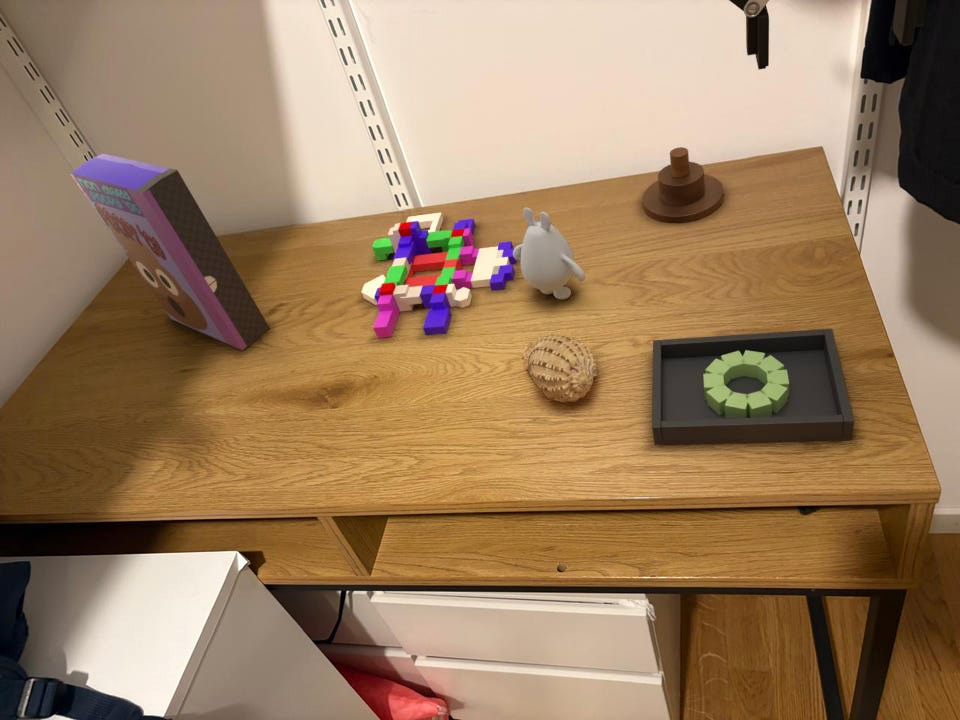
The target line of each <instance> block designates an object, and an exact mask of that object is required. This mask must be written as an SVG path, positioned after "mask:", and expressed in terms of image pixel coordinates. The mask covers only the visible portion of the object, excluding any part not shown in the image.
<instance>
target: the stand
mask: <svg viewBox="0 0 960 720" xmlns="http://www.w3.org/2000/svg"><path fill="white" fill-rule="evenodd" d="M669 161H670V164H667V165H666V166H664V167H662V169H660V171H659V172H658V173H657V180H656V181H655V182H653V183H652V184H650V185H649V186H648V187H647V188H646V190H645V191H644V192H643V195H642V207H643V210H644V212H645V213H646V215H647V216H649V217H650V218H652V219H653V220H656V221H658V222H662V223H669V224H681V223H689V222H694V221H697V220H700V219H703V218H706V217H708V216H709V215H711V214H713V213H714V212H715V211H717V210H718V209H719V208H720V206H721V205H722V203H723V201H724V187H723V184H722V183H721V181H719V180H718V179H717V178H715V177H714V176H711V175H709V174H706V173H705V169H704V167H703V166H702V165H701V164H700V163H697V162H696V161H695V162H694V161H690V157H689V149H688V148H686V147H681V146H680V147H675V148H672V150H670V151H669Z"/></svg>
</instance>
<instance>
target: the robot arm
mask: <svg viewBox="0 0 960 720" xmlns="http://www.w3.org/2000/svg"><path fill="white" fill-rule="evenodd" d="M728 1H729V2H731V3H732V4H733V5H735V7H737V8H738V9H740V10H741V11H742V12H743V13H744V15H745V47H746V54H747V56H754V55H755V59H756V65H757V70H758V71H759V70H766V69H767V67H769V64H770V15H769V11H768V7H767V4H768V2H769V1H770V0H728ZM927 2H928V0H895V6H894V15H893V23H892V32H893V33H894V35H895V37H896V39H897V41H898V42H899V44H900V45H903V46H911V45H913V44H914V40H915V32H916V28H919V27H923V25H924V21H925V15H926V8H927Z"/></svg>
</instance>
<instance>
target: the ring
mask: <svg viewBox="0 0 960 720" xmlns="http://www.w3.org/2000/svg"><path fill="white" fill-rule="evenodd" d="M705 372H706V374H703V378H704V394H705V400H707V404H708V405H709V406H710V407H711V408H712V409H713V410H714V411H715V412H716V413H718V414H719V415H722V414H723V413H725V418H727V419H733V418H747V416H749V417H750V418H762V417H772V412H774V413H778V412H779V410H780V409H781V408H782V407H783V406H784V405H785V403H786V402H787V397H788V396H789V378H788V372H787V370H784V365H783V364H782V363H780V362H779V361H778V360H776V359H775V358H774V357H772V356H771V355H770V356H768V357H766V358H765V353H761V352H754V351H748V350H745V353H744V355H743V356H742V355H741V353H740V351H736V352H732V353H729V354H725V355H722V356H721V360H719V359H715V360H714V361H713V362H712V363H711V364H710V365H709V366H708V367H707V368H706V370H705ZM742 376H746V377H752V378H757V379H759V380H760V381H761V382H762V383H764V384H765V386H764V388H763V389H762V390H761V391H758V392H754V393H751V394H741V393H736V392H732V391H731V390H730V389H729V388H727V387H726V385H727V384H728V382H729V381H730V380H732V379H735V378H739V377H742Z"/></svg>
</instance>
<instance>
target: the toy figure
mask: <svg viewBox="0 0 960 720" xmlns="http://www.w3.org/2000/svg"><path fill="white" fill-rule="evenodd" d="M522 215H523V218H524V220H525V221H526V223H527V224H528V228H527V229H526V231H525V234H524V237H523V240H522V243H519V244H518V245H516V246H515V247H513V249H514V250H513V256H514V258H515V259H516V260H517V261H520V269H521V274H522V276H523V277H524V279H525V281H527V283H528V284H529V285H530V286H532V287H533V288H535V289H537V290H540V292H541V293H542V294H544V295H552V294H553V296H554V298H556V299H558V300H566V299H568V298H570V297H571V296H572V295H571V294H572V291H571V288H569V287H567V286H565V285H566V284H568V282H569V280H570V279H571V277H573V278H576V279H577V280H578V281H579V282H584V281H585V280H586V274H585V272H584V270H583V268H581V266H580V265H578V263H576V261H575V255H574V252H573V249H572V246H571V245H570V243H569V242H568V241H567V240H566V238H565V236H564V235H563V234H562V233H561V232H560V231H559V230H558V228H557V227H556V226H555V225H554V223H552V220H551V218H550V216H549V214H548V213H547V212H545V211H541V212H540V213H539V221H536V219H535V216H534V212H533V211H532V209H531V208H530V207H527V206H525V207H524V208H523V210H522Z"/></svg>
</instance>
